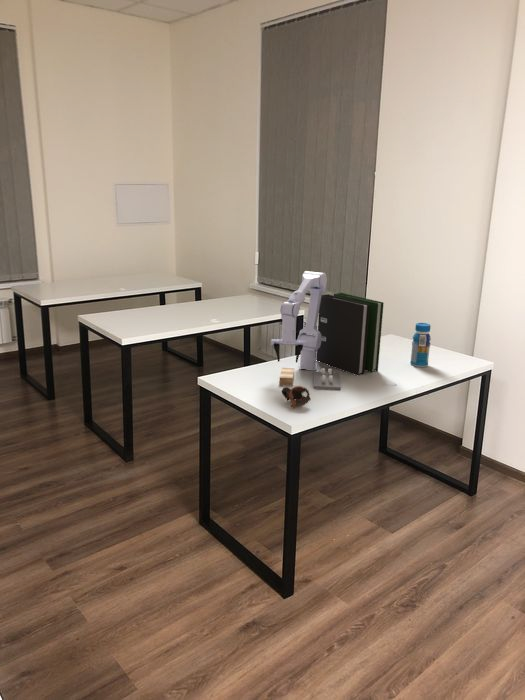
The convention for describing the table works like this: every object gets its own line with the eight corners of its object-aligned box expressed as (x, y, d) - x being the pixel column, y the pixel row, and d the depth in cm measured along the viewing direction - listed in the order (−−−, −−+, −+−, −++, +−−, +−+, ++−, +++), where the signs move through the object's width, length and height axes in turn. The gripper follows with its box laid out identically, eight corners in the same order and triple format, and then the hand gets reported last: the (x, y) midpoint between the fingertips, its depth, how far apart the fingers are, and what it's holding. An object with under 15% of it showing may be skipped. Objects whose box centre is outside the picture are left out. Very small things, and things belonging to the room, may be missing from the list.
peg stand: (313, 373, 261) (313, 364, 260) (338, 375, 260) (338, 366, 259) (313, 388, 242) (314, 379, 241) (340, 390, 241) (341, 380, 240)
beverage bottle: (406, 364, 279) (410, 323, 274) (416, 361, 285) (420, 321, 279) (421, 368, 273) (425, 327, 268) (431, 365, 279) (436, 324, 273)
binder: (378, 371, 268) (384, 302, 259) (356, 376, 259) (361, 305, 251) (337, 356, 289) (341, 292, 280) (315, 361, 280) (318, 295, 271)
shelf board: (281, 375, 259) (281, 367, 258) (293, 375, 259) (294, 368, 258) (279, 385, 246) (279, 377, 245) (292, 386, 245) (292, 378, 244)
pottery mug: (312, 402, 228) (315, 389, 222) (302, 419, 222) (305, 406, 216) (285, 390, 231) (286, 377, 225) (274, 407, 225) (275, 393, 219)
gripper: (271, 331, 243) (270, 363, 246) (306, 333, 242) (304, 364, 245) (272, 328, 250) (271, 358, 253) (306, 329, 249) (304, 360, 252)
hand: (287, 361), depth 250 cm, fingers open, 7 cm apart
